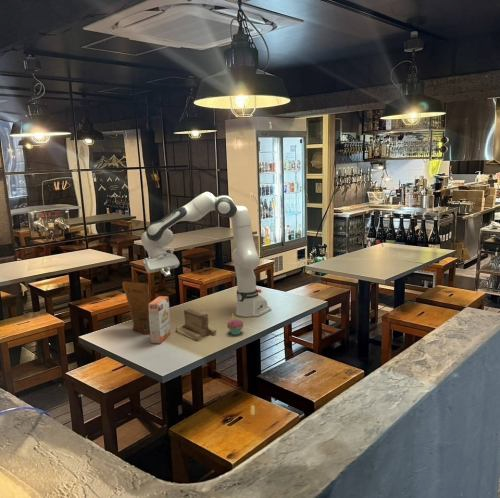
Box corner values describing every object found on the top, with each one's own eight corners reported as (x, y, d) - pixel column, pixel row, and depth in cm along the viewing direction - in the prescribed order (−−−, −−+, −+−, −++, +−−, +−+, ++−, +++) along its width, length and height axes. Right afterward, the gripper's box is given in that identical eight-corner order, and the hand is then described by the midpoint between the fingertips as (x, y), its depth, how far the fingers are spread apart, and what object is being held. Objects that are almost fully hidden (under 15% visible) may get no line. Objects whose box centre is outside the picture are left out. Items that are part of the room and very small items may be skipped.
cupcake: (237, 337, 234) (236, 315, 232) (224, 334, 238) (223, 312, 236) (246, 331, 241) (245, 310, 239) (233, 329, 246) (232, 307, 243)
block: (193, 329, 248) (191, 307, 246) (208, 335, 238) (207, 313, 236) (185, 331, 245) (184, 310, 242) (201, 338, 235) (199, 316, 232)
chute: (194, 325, 253) (194, 321, 253) (216, 334, 239) (216, 329, 238) (176, 331, 245) (175, 327, 245) (198, 341, 231) (197, 336, 230)
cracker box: (161, 344, 229) (158, 304, 225) (150, 343, 230) (147, 303, 226) (171, 333, 242) (169, 296, 238) (161, 333, 243) (158, 295, 239)
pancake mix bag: (147, 337, 238) (143, 285, 233) (125, 329, 250) (120, 280, 245) (157, 333, 244) (153, 282, 238) (135, 326, 255) (131, 277, 250)
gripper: (143, 255, 250) (153, 275, 245) (174, 249, 264) (185, 268, 258) (139, 262, 254) (149, 282, 249) (170, 256, 268) (181, 275, 262)
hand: (168, 275), depth 254 cm, fingers closed
